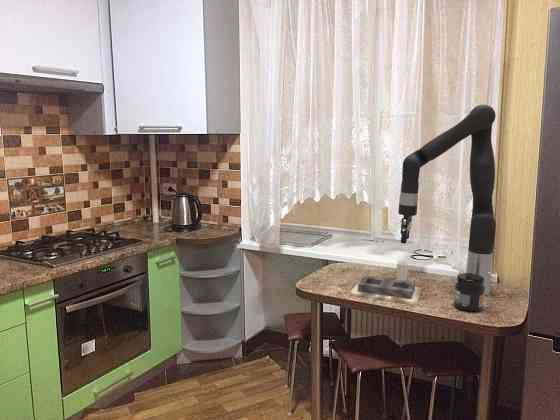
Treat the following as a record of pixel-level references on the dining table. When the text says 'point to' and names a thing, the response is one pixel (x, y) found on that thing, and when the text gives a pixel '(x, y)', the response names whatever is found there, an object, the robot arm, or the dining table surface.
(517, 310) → the dining table surface
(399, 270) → the white rectangular block
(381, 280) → the socket board
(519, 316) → the dining table surface
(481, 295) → the supplement container
